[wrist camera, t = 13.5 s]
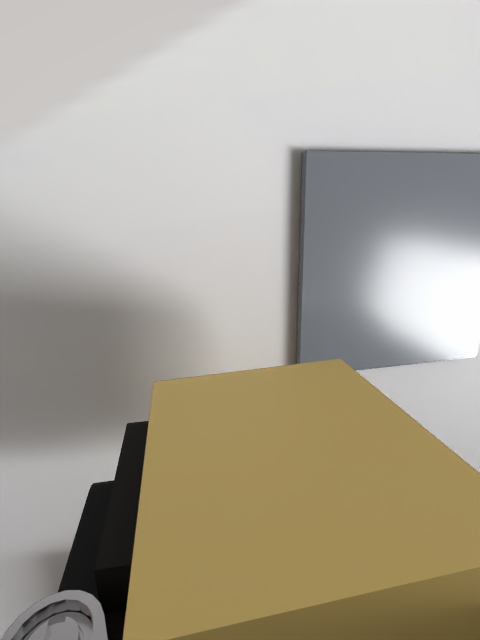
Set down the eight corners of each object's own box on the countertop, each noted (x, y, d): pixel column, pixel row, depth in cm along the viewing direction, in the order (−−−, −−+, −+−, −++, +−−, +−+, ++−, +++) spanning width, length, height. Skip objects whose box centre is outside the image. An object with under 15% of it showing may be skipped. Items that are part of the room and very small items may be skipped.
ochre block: (340, 358, 10) (568, 546, 4) (336, 508, 11) (505, 804, 6) (153, 381, 9) (121, 649, 3) (174, 539, 10) (175, 920, 5)
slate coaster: (503, 155, 14) (513, 153, 13) (468, 353, 16) (476, 357, 16) (302, 152, 12) (306, 150, 12) (295, 372, 14) (299, 376, 14)
